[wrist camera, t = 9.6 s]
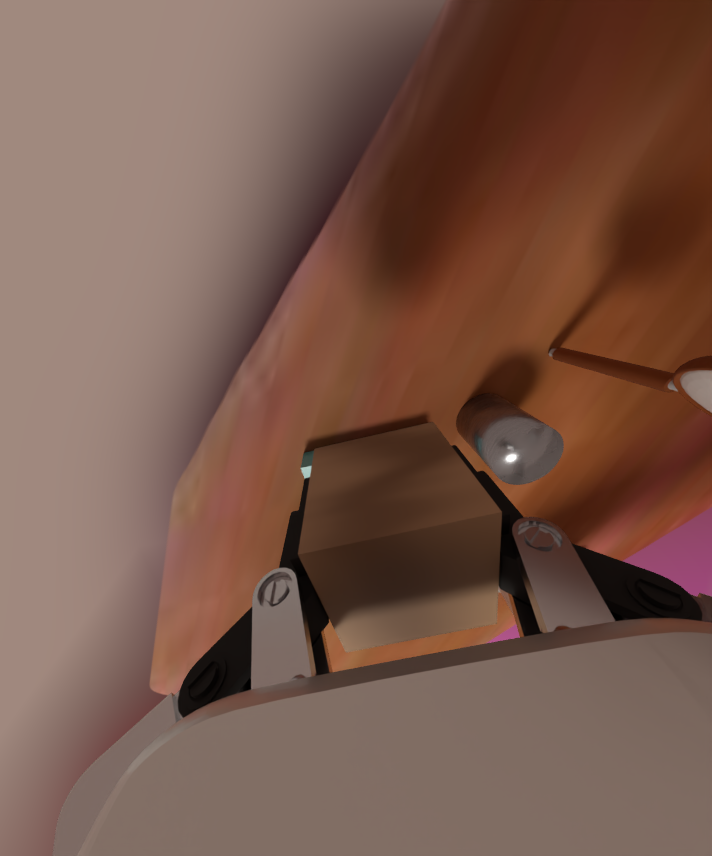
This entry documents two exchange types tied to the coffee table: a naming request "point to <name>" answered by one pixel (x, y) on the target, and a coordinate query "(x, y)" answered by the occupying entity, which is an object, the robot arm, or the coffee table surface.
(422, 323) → the coffee table surface
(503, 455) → the metal tin
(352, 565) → the walnut block
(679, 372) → the magnifying glass
